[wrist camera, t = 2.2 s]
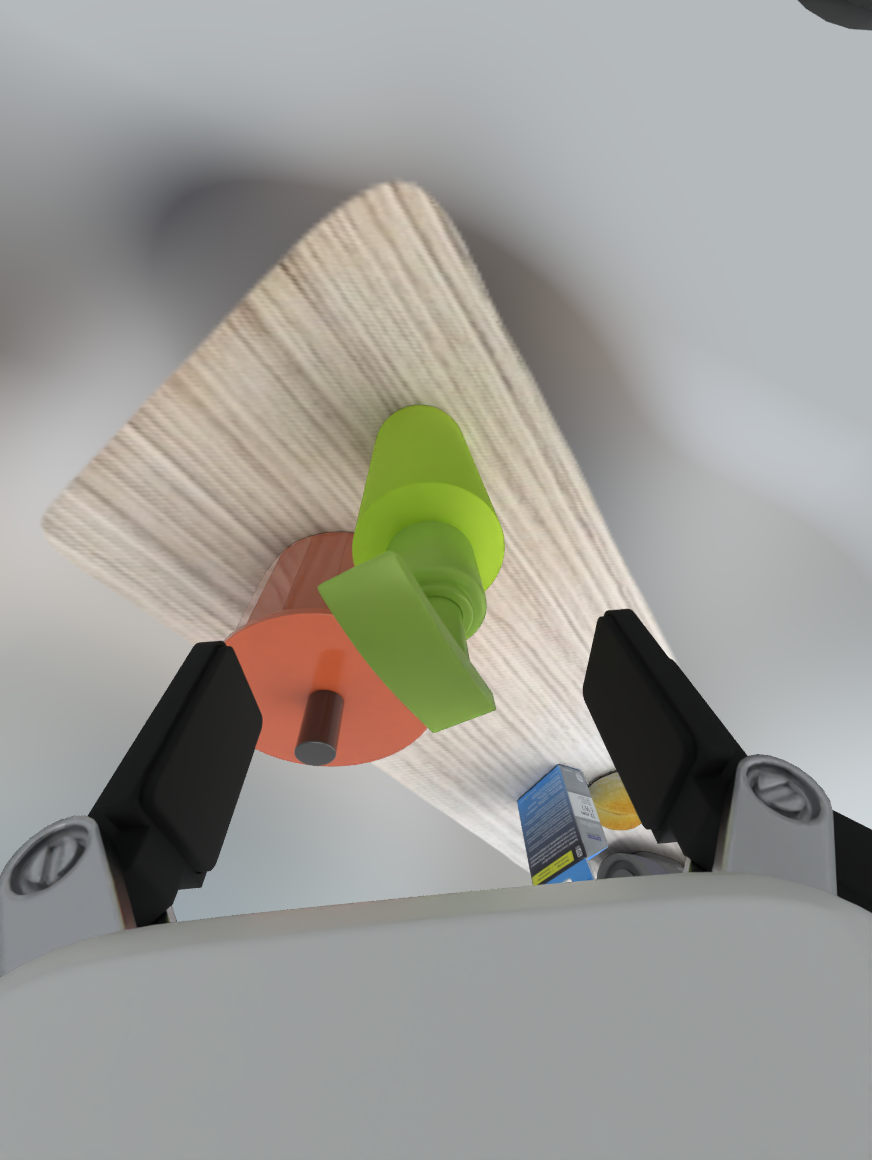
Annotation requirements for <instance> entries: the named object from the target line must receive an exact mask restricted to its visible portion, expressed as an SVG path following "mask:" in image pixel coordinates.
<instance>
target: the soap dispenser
mask: <svg viewBox="0 0 872 1160" xmlns="http://www.w3.org/2000/svg"><path fill="white" fill-rule="evenodd" d="M504 550H505V543H504V535H503V531H502V528H501V525H500V522H499V520H498V518H497V515H496V513H495V510H494V508H493V506H492V503H491V501H490V498H489V496H488V494H487V491H486V489H485V487H484V484H483V482H482V479H481V477H480V475H479V472H478V470H477V468H476V465H475V463H474V460H473V458H472V456H471V453H470V451H469V449H468V446H467V444H466V441H465V439H464V437H463V434H462V432H461V430H460V428H459V426H458V425H457V423H456V422H455V421H454V420H453V419H452V418H451V417H450V416H449V415H448V414H446V413H445V412H443V411H442V410H440V409H437V408H435V407H432V406H427V405H413V406H408V407H405V408H402V409H400V410H398V411H396V412H395V413H393V414H392V415H391V416H390V417H389V418H388V419H387V420H386V421H385V422H384V423H383V425H382V426H381V428H380V430H379V432H378V434H377V437H376V441H375V446H374V450H373V454H372V459H371V463H370V467H369V472H368V476H367V480H366V485H365V489H364V493H363V498H362V502H361V506H360V511H359V515H358V519H357V524H356V528H355V532H354V537H353V543H352V555H353V562H354V566H355V567H353V568H351V569H349V570H347V571H345V572H343V573H341V574H339V575H337V576H335V577H333V578H331V579H329V580H327V581H325V582H324V583H322V584H320V585H319V586H318V591H319V593H320V595H321V596H322V598H323V600H324V601H325V603H326V605H327V606H328V608H329V609H330V611H331V612H332V614H333V615H334V617H335V618H336V620H337V621H338V623H339V624H340V626H341V627H342V629H343V630H344V632H345V633H346V635H347V636H348V638H349V639H350V641H351V642H352V643H353V645H354V646H355V648H356V649H357V650H358V652H359V653H360V654H361V656H362V657H363V658H364V660H365V661H366V662H367V663H368V665H369V666H370V667H371V668H372V670H373V671H374V672H375V673H376V675H377V676H378V677H379V678H380V679H381V680H382V682H383V683H384V684H385V685H386V686H387V687H388V688H389V689H390V690H391V692H392V693H393V694H394V695H395V696H396V697H397V698H398V699H399V700H400V701H401V702H402V703H403V704H404V705H405V706H406V707H407V708H408V709H409V710H410V711H411V712H412V713H413V714H414V715H415V716H416V717H417V718H418V719H419V720H420V721H421V722H422V723H423V724H424V725H425V726H426V727H427V728H428V729H429V730H430V731H432V732H433V733H435V732H438V731H441V730H444V729H446V728H449V727H452V726H454V725H457V724H460V723H462V722H465V721H468V720H470V719H473V718H476V717H478V716H481V715H484V714H487V713H489V712H492V711H494V710H496V706H495V702H494V697H493V693H492V692H491V690H490V689H489V687H488V686H487V685H486V683H485V682H484V680H483V679H482V678H481V676H480V675H479V673H478V672H477V671H476V669H475V668H474V666H473V665H472V663H471V662H470V659H469V653H468V647H467V642H466V640H467V639H468V638H470V637H471V636H472V635H473V634H474V633H475V632H476V631H477V630H478V629H479V627H480V626H481V624H482V622H483V620H484V618H485V614H486V597H485V591H486V590H487V589H488V588H489V586H490V585H491V584H492V583H493V581H494V580H495V578H496V576H497V575H498V573H499V570H500V568H501V565H502V562H503V558H504Z"/></svg>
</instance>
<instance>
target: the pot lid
mask: <svg viewBox="0 0 872 1160" xmlns="http://www.w3.org/2000/svg"><path fill="white" fill-rule="evenodd" d="M223 642H225V643H226V645H227V646H231V647H233V649H234V651H235V653H236V656H237V658H238V660H239V663H240V665H241V667H242V670H243V672H244V674H245V677H246V679H247V681H248V683H249V686H250V688H251V690H252V693H253V695H254V697H255V700H256V702H257V704H258V707H259V709H260V711H261V714H262V718H263V724H262V729H261V733H260V736H259V738H258V741H257V744H256V747H255V749H257V750H259V751H261V752H263V753H266V754H268V755H270V756H273V757H276V758H279V759H282V760H286V761H290V762H295V763H300V764H305V765H313V766H348V765H357V764H363V763H368V762H372V761H375V760H379V759H382V758H385V757H387V756H390V755H392V754H394V753H396V752H398V751H400V750H402V749H404V748H405V747H407V746H408V745H410V744H412V743H413V742H414V741H415V740H416V739H418V738H419V737H420V736H421V735H422V734H423V733H424V731H425V730H426V729H427V727H426V726H425V725H424V724H423V723H422V722H421V721H420V720H419V719H418V718H417V717H416V716H415V715H414V714H413V713H412V712H411V711H410V710H409V709H408V708H407V707H406V706H405V705H404V704H403V703H402V702H401V701H400V700H399V699H398V698H397V697H396V696H395V695H394V694H393V693H392V692H391V690H390V689H389V688H388V687H387V686H386V685H385V684H384V683H383V682H382V680H381V679H380V678H379V677H378V676H377V675H376V673H375V672H374V671H373V670H372V668H371V667H370V666H369V665H368V663H367V662H366V661H365V660H364V658H363V657H362V656H361V654H360V653H359V652H358V650H357V649H356V648H355V646H354V645H353V643H352V642H351V641H350V639H349V638H348V636H347V635H346V633H345V632H344V630H343V629H342V627H341V626H340V624H339V623H338V621H337V620H336V618H335V617H334V615H333V614H332V612H331V611H330V609H329V608H298V609H290V610H283V611H279V612H275V613H271V614H267V615H265V616H262V617H259V618H257V619H254V620H252V621H250V622H248V623H246V624H245V625H243V626H241V627H239V628H238V629H237V630H235V631H234V632H233V633H231V634H230V635H229V636H228V637H227V638H226V639H225V640H224V641H223Z"/></svg>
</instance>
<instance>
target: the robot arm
mask: <svg viewBox="0 0 872 1160" xmlns="http://www.w3.org/2000/svg"><path fill="white" fill-rule="evenodd" d="M583 697H584V700H585V703H586V705H587V707H588V709H589V711H590V714H591V716H592V718H593V720H594V722H595V724H596V727H597V729H598V731H599V733H600V735H601V737H602V740H603V742H604V744H605V746H606V748H607V750H608V753H609V755H610V757H611V759H612V761H613V763H614V765H615V768H616V770H617V772H618V774H619V776H620V778H621V781H622V783H623V785H624V787H625V789H626V791H627V794H628V796H629V798H630V800H631V802H632V804H633V807H634V809H635V811H636V813H637V815H638V817H639V819H640V821H641V823H642V825H643V826H644V828H646V829H651V830H652V832H653V835H654V837H655V839H656V841H657V843H658V844H660V843H671V842H678V844H679V846H680V848H681V850H682V852H683V854H684V855H685V856H686V861H685V865H684V870H683V873H675V874H662V875H648V876H634V877H621V878H608V879H598V880H587V881H576V882H565V883H555V884H544V885H533V886H523V887H512V888H501V889H490V890H480V891H470V892H460V893H449V894H439V895H430V896H419V897H409V898H399V899H389V900H380V901H368V902H358V903H349V904H338V905H329V906H319V907H309V908H300V909H290V910H281V911H271V912H261V913H251V914H241V915H232V916H224V917H216V918H207V919H200V920H192V921H183V922H177V920H176V917H175V914H174V911H173V908H172V904H173V902H174V899H175V897H176V894H177V892H178V890H181V889H190V888H200V887H202V884H203V881H204V879H205V876H206V873H207V871H211V870H212V869H213V868H214V866H215V864H216V862H217V859H218V857H219V854H220V851H221V848H222V845H223V842H224V839H225V836H226V833H227V830H228V827H229V824H230V821H231V818H232V815H233V812H234V809H235V806H236V803H237V801H238V798H239V794H240V792H241V789H242V786H243V783H244V780H245V777H246V774H247V771H248V768H249V765H250V762H251V759H252V756H253V753H254V750H255V747H256V744H257V741H258V738H259V736H260V733H261V729H262V724H263V718H262V714H261V711H260V709H259V707H258V704H257V702H256V700H255V697H254V695H253V693H252V690H251V688H250V686H249V683H248V681H247V679H246V677H245V674H244V672H243V670H242V667H241V665H240V663H239V660H238V658H237V656H236V653H235V651H234V649H233V647H231V646H227V645H226V643H225V642H223V641H213V642H200V643H197V644H195V646H194V647H193V648H192V650H191V652H190V653H189V655H188V656H187V658H186V660H185V661H184V663H183V665H182V666H181V667H180V669H179V671H178V672H177V674H176V676H175V677H174V679H173V680H172V682H171V684H170V685H169V687H168V688H167V690H166V692H165V693H164V695H163V696H162V698H161V700H160V701H159V703H158V704H157V706H156V707H155V709H154V711H153V712H152V713H151V715H150V717H149V719H148V720H147V722H146V723H145V725H144V726H143V728H142V730H141V731H140V733H139V734H138V736H137V738H136V739H135V741H134V742H133V744H132V746H131V747H130V749H129V750H128V752H127V754H126V755H125V757H124V758H123V760H122V762H121V763H120V765H119V766H118V768H117V770H116V771H115V773H114V774H113V776H112V778H111V779H110V781H109V783H108V784H107V786H106V787H105V789H104V790H103V792H102V794H101V795H100V797H99V799H98V800H97V802H96V803H95V805H94V806H93V808H92V810H91V811H90V813H89V814H88V816H72V817H68V818H65V819H61V820H59V821H57V822H55V823H53V824H51V825H49V826H47V827H45V828H44V829H42V830H41V831H39V832H38V833H37V834H35V835H34V836H32V837H31V838H30V839H29V840H28V841H27V842H26V843H24V844H23V845H22V846H21V847H20V848H19V849H18V850H17V851H16V852H15V854H14V855H13V856H12V858H11V859H10V860H9V861H8V863H7V864H6V865H5V867H4V869H3V871H2V873H1V875H0V1160H872V830H871V829H869V828H867V827H865V826H863V825H861V824H859V823H857V822H855V821H853V820H851V819H849V818H847V817H845V816H843V815H841V814H840V813H838V812H835V811H834V810H832V807H831V803H830V800H829V798H828V797H827V795H826V794H825V792H824V790H823V789H822V788H821V787H820V786H819V785H818V784H817V782H816V781H815V780H814V779H813V778H812V777H810V776H809V775H807V774H806V773H805V772H803V771H802V770H801V769H800V768H798V767H796V766H794V765H792V764H790V763H789V762H787V761H785V760H782V759H779V758H776V757H773V756H768V755H760V754H756V755H751V756H747V755H746V753H745V752H744V751H743V749H742V748H741V747H740V746H739V744H738V743H737V742H736V740H735V739H734V738H733V736H732V735H731V734H730V733H729V731H728V730H727V729H726V727H725V726H724V725H723V724H722V722H721V721H720V720H719V718H718V717H717V716H716V714H715V713H714V712H713V711H712V709H711V708H710V707H709V705H708V704H707V703H706V702H705V700H704V699H703V698H702V696H701V695H700V694H699V692H698V691H697V690H696V689H695V687H694V686H693V685H692V683H691V682H690V681H689V679H688V678H687V677H686V675H685V674H684V673H683V672H682V670H681V669H680V668H679V666H678V665H677V664H676V663H675V662H674V661H673V660H672V659H670V658H669V657H668V656H667V655H666V654H665V652H664V651H663V650H662V648H661V647H660V646H659V644H658V643H657V642H656V640H655V639H654V638H653V636H652V635H651V634H650V633H649V631H648V630H647V629H646V627H645V626H644V625H643V623H642V622H641V621H640V619H639V618H638V617H637V615H636V614H635V613H634V612H633V611H632V610H631V609H621V610H608V611H606V612H605V614H604V616H603V617H599V618H598V621H597V625H596V630H595V634H594V639H593V643H592V648H591V652H590V657H589V662H588V666H587V671H586V675H585V680H584V684H583Z"/></svg>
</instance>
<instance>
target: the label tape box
mask: <svg viewBox="0 0 872 1160" xmlns="http://www.w3.org/2000/svg"><path fill="white" fill-rule="evenodd" d="M517 804H518V810H519V815H520V820H521V826H522V831H523V837H524V842H525V847H526V852H527V858H528V863H529V868H530V873H531V878H532V883H533V885H544V884H555V883H564V882H565V881H567V880H569V879H571V880H572V882H576V881H587V880H595V878H594V875H593V872H592V870H591V867H590V865H589V862H588V860H590V859H591V858H593V857H594V856H596V855H597V854H599V853H600V852H602V851H603V850H605V849H606V848H608V843H607V840H606V837H605V834H604V832H603V829H602V826H601V823H600V820H599V817H598V815H597V812H596V809H595V806H594V803H593V800H592V798H591V795H590V792H589V789H588V786H587V783H586V780H585V778H584V775H583V773H582V772H580V771H578V770H575V769H572V768H569V767H566V766H561V765H558V766H556V767H555V768H554V769H553V770H552V771H551V772H550V773H549V774H547V775H546V776H545V777H544V778H543V779H542V780H541V781H540V782H539V783H538V784H537V785H535V786H534V787H533V788H532V789H531V790H530V791H529V792H527V793H526V794H525V795H524V796H523V797H522V798H520V799H519V800H518V801H517Z"/></svg>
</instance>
